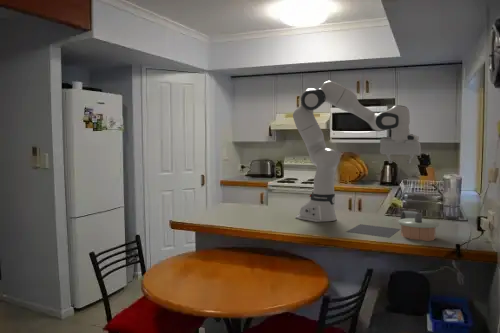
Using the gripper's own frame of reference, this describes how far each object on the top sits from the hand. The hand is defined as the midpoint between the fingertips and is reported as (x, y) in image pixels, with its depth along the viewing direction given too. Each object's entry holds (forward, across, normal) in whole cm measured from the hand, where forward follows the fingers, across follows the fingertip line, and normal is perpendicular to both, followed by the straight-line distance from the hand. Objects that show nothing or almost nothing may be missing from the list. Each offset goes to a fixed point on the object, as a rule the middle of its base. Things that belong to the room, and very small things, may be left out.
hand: (399, 163), depth 216 cm
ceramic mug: (+31, +7, -5) cm, 33 cm away
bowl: (+31, +16, -29) cm, 45 cm away
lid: (+25, +16, -29) cm, 41 cm away
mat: (+31, -4, -29) cm, 43 cm away
